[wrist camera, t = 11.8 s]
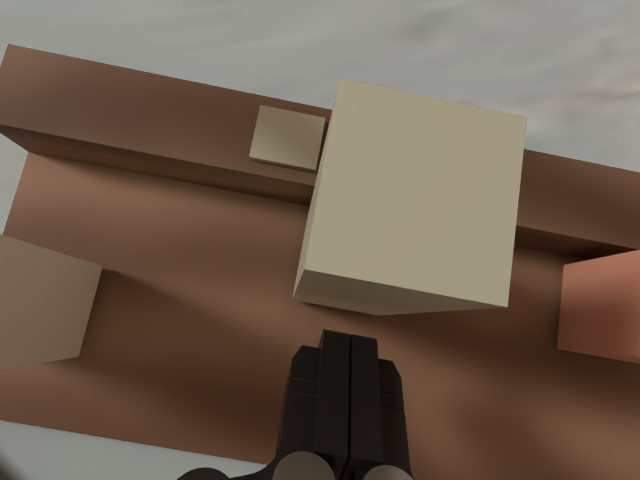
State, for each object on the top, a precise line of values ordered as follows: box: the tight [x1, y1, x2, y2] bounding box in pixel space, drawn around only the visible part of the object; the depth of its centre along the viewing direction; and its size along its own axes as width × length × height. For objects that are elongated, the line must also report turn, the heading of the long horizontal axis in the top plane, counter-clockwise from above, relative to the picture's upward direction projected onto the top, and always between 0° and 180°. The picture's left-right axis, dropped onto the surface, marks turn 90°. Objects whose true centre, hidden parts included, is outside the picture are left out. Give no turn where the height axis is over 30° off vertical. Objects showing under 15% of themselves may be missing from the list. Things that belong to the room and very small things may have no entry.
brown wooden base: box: [0, 44, 640, 480], centre depth 18 cm, size 13×27×4 cm, turn 80°
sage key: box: [292, 79, 527, 315], centre depth 14 cm, size 4×4×11 cm
